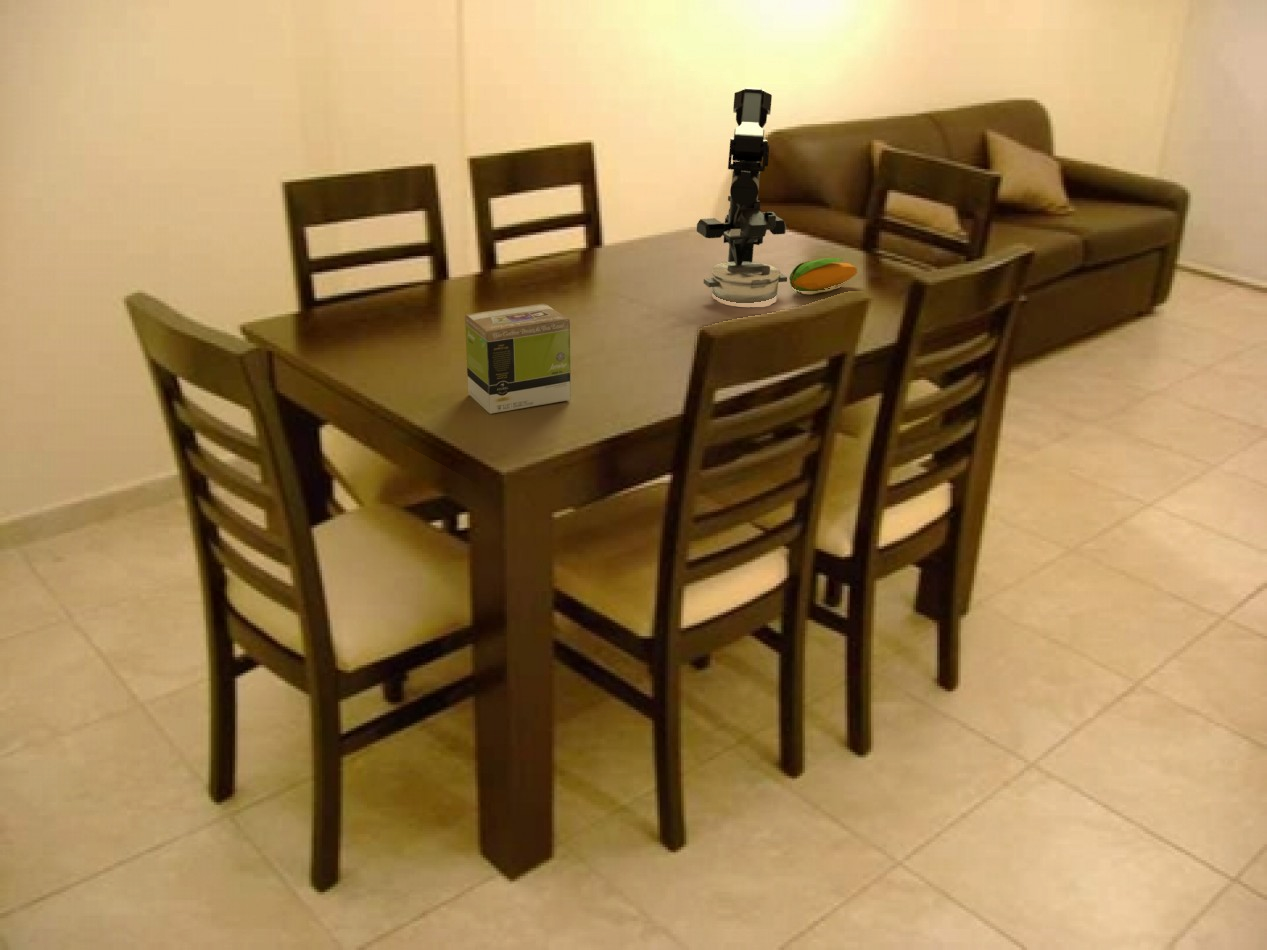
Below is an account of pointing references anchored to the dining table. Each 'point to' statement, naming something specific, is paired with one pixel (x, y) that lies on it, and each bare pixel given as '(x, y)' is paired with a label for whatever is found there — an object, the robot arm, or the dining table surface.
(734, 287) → the pot
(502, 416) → the dining table surface
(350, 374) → the dining table surface
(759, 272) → the lid
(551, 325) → the tea box
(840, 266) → the corn
